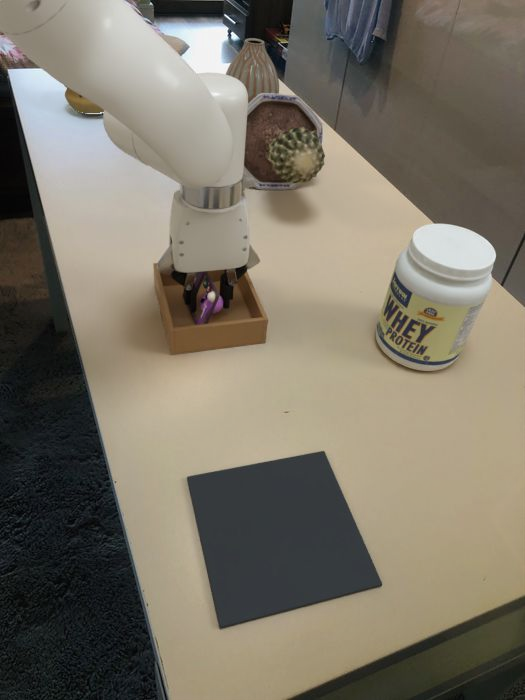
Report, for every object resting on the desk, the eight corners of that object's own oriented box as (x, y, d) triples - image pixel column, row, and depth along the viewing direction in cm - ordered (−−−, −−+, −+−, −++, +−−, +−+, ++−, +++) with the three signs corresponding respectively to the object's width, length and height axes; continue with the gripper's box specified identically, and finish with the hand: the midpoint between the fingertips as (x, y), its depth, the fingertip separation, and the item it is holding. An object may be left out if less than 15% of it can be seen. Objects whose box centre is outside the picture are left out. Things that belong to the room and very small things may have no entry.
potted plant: (220, 83, 109) (256, 101, 84) (306, 90, 114) (364, 108, 89) (217, 174, 118) (248, 215, 93) (297, 177, 122) (347, 216, 97)
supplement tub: (356, 340, 79) (384, 239, 68) (404, 306, 86) (438, 209, 74) (428, 388, 74) (472, 287, 62) (474, 348, 80) (521, 250, 69)
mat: (219, 629, 49) (220, 627, 49) (186, 479, 60) (186, 476, 60) (381, 586, 53) (382, 584, 53) (323, 453, 64) (324, 450, 64)
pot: (65, 102, 133) (58, 57, 126) (116, 101, 136) (111, 57, 129) (68, 121, 125) (61, 74, 118) (122, 120, 128) (118, 74, 121)
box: (170, 355, 74) (170, 331, 71) (154, 286, 84) (153, 263, 81) (265, 342, 77) (268, 319, 74) (238, 278, 88) (240, 255, 85)
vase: (213, 112, 136) (216, 33, 124) (261, 108, 141) (268, 31, 129) (234, 133, 128) (239, 51, 116) (284, 128, 133) (294, 49, 121)
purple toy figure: (192, 256, 78) (212, 294, 73) (224, 262, 81) (246, 298, 75) (177, 295, 82) (195, 333, 76) (208, 298, 85) (228, 336, 79)
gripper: (268, 169, 72) (257, 283, 84) (137, 176, 67) (145, 294, 80) (286, 198, 67) (271, 314, 79) (145, 207, 62) (153, 328, 75)
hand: (208, 303), depth 79 cm, fingers closed on purple toy figure, 4 cm apart
